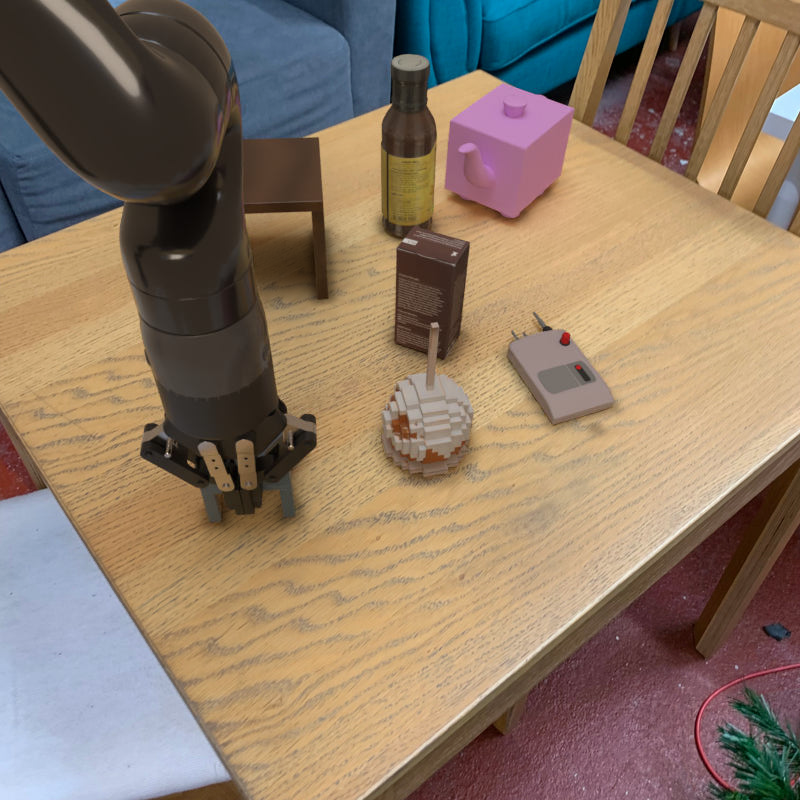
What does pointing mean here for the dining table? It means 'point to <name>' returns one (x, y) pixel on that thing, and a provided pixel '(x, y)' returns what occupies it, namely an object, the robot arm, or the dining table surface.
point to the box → (430, 289)
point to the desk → (288, 187)
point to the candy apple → (427, 419)
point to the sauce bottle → (408, 149)
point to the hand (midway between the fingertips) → (245, 505)
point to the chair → (283, 485)
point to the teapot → (507, 148)
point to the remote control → (559, 374)
